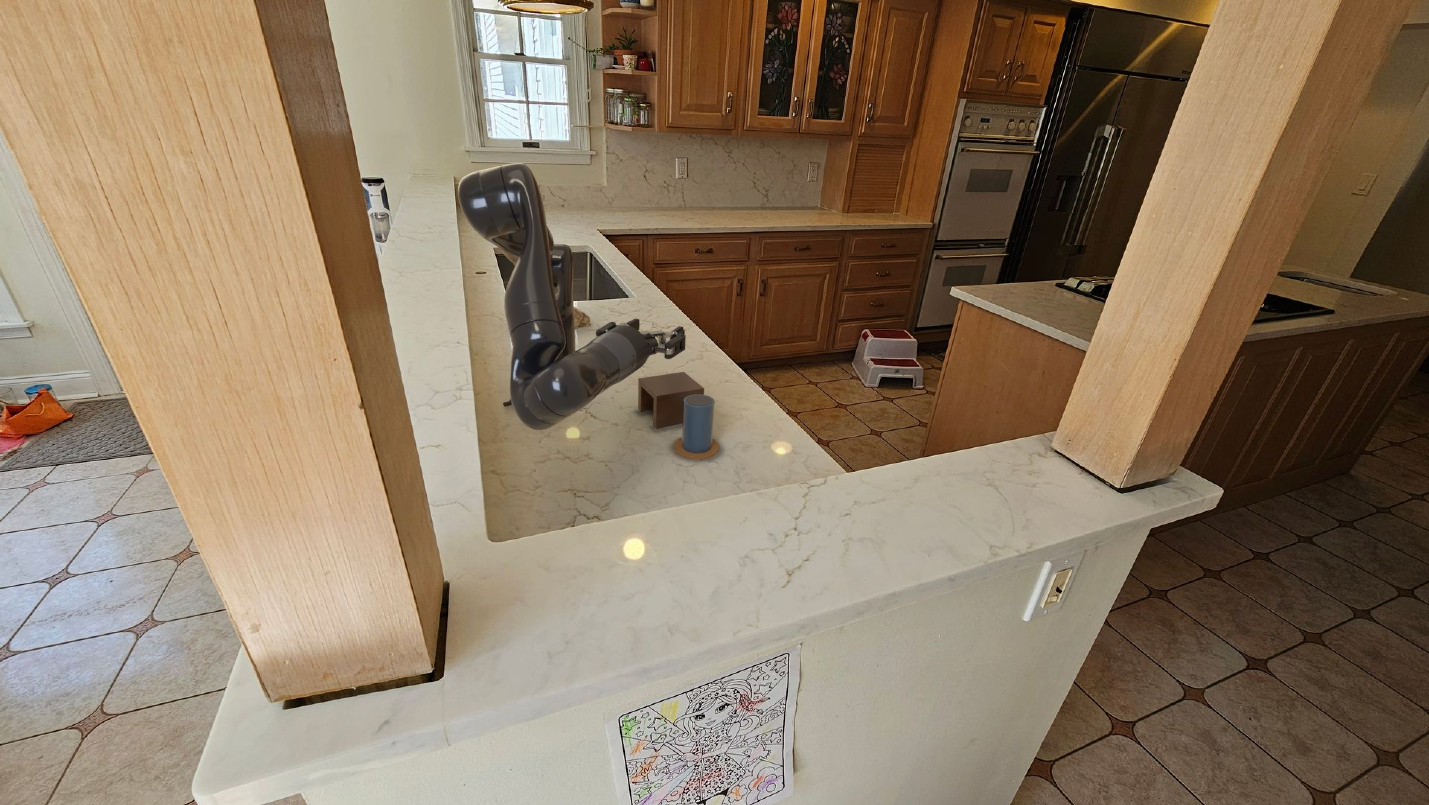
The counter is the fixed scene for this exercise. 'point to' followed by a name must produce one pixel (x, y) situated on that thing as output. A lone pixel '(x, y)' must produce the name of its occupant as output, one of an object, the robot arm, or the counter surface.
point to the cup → (698, 423)
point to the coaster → (698, 456)
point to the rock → (581, 319)
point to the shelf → (666, 397)
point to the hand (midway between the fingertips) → (659, 327)
